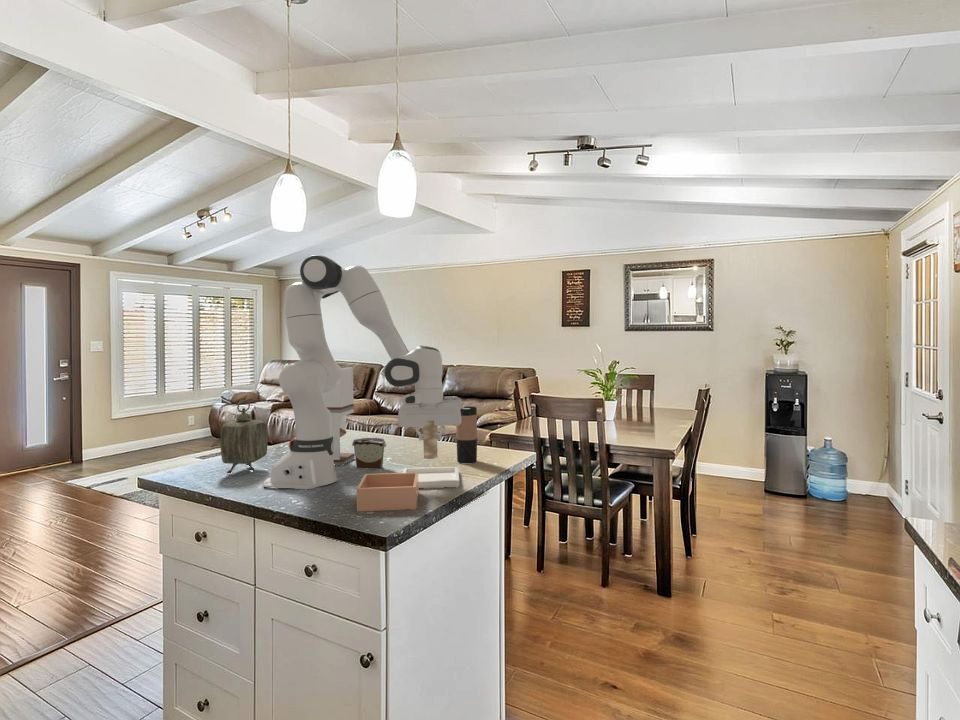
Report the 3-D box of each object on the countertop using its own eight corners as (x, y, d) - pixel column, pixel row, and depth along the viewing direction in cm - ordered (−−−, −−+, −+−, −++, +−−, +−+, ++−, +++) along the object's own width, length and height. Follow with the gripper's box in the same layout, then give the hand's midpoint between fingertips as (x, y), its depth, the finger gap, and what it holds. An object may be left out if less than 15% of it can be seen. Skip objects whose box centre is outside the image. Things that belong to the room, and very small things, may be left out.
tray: (400, 489, 162) (399, 482, 162) (404, 474, 180) (403, 468, 180) (459, 487, 163) (459, 480, 163) (457, 472, 181) (457, 466, 181)
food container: (391, 465, 192) (391, 438, 192) (385, 469, 186) (384, 441, 186) (360, 464, 195) (359, 437, 195) (352, 468, 189) (352, 440, 189)
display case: (342, 465, 193) (340, 368, 192) (314, 464, 195) (312, 369, 194) (354, 458, 205) (352, 367, 203) (328, 458, 206) (326, 367, 205)
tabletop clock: (246, 466, 194) (244, 397, 193) (269, 467, 192) (268, 397, 191) (221, 476, 179) (219, 402, 178) (246, 477, 178) (244, 402, 177)
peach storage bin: (356, 511, 141) (356, 488, 141) (365, 494, 157) (364, 474, 157) (416, 509, 143) (415, 487, 142) (418, 492, 158) (418, 472, 158)
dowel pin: (423, 459, 169) (422, 421, 168) (424, 456, 173) (423, 419, 173) (437, 458, 169) (436, 420, 169) (437, 455, 173) (436, 418, 173)
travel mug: (475, 464, 193) (474, 409, 192) (454, 463, 194) (453, 408, 194) (479, 459, 200) (478, 406, 200) (459, 459, 202) (458, 406, 201)
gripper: (461, 394, 174) (462, 437, 175) (398, 396, 173) (399, 439, 173) (462, 396, 168) (463, 440, 169) (396, 398, 167) (397, 442, 167)
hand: (430, 439), depth 171 cm, fingers closed on dowel pin, 4 cm apart
